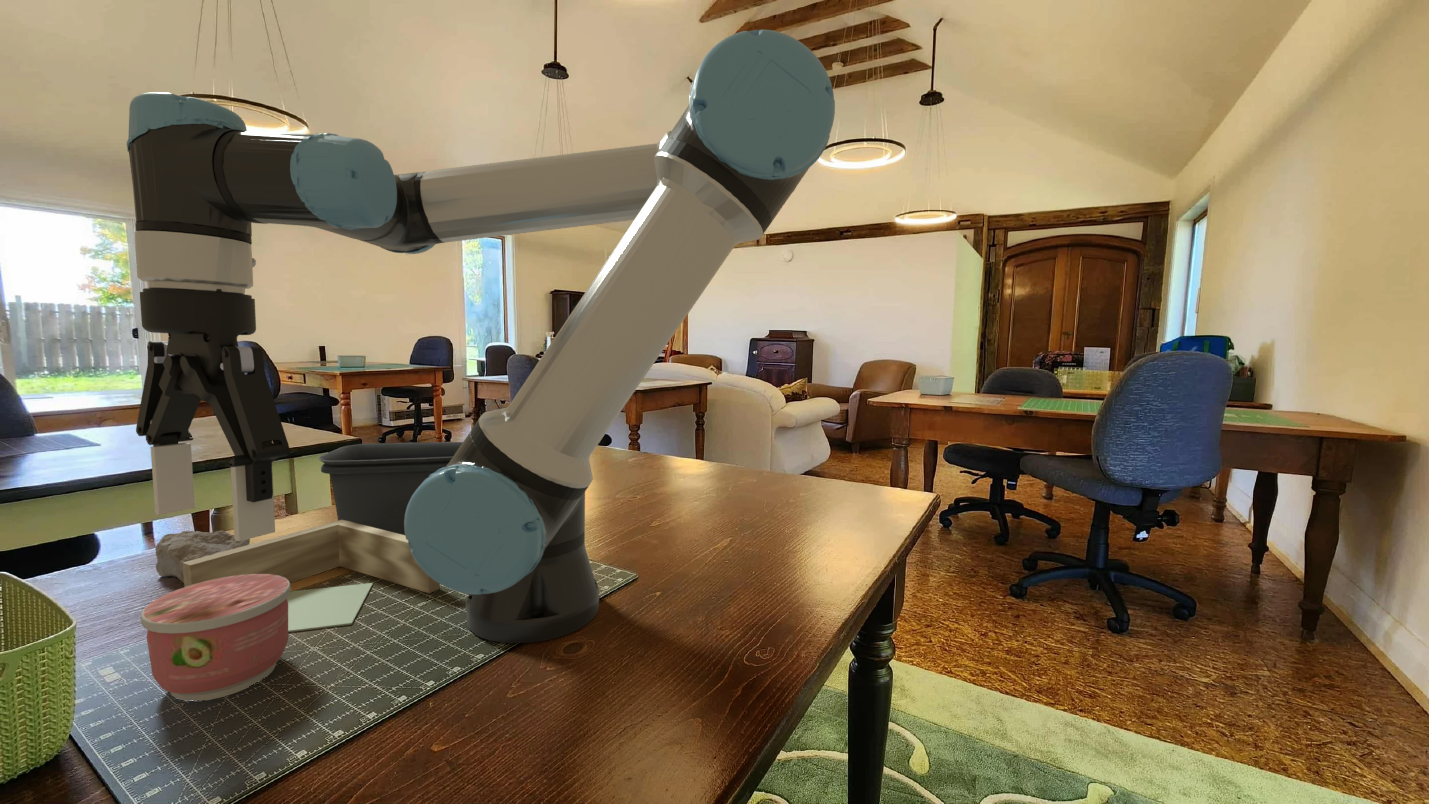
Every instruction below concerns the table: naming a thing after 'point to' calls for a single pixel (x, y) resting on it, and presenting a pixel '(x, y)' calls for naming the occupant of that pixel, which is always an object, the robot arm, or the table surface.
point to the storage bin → (382, 479)
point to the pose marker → (325, 606)
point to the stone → (191, 549)
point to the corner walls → (318, 556)
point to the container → (217, 635)
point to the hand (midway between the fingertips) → (213, 523)
